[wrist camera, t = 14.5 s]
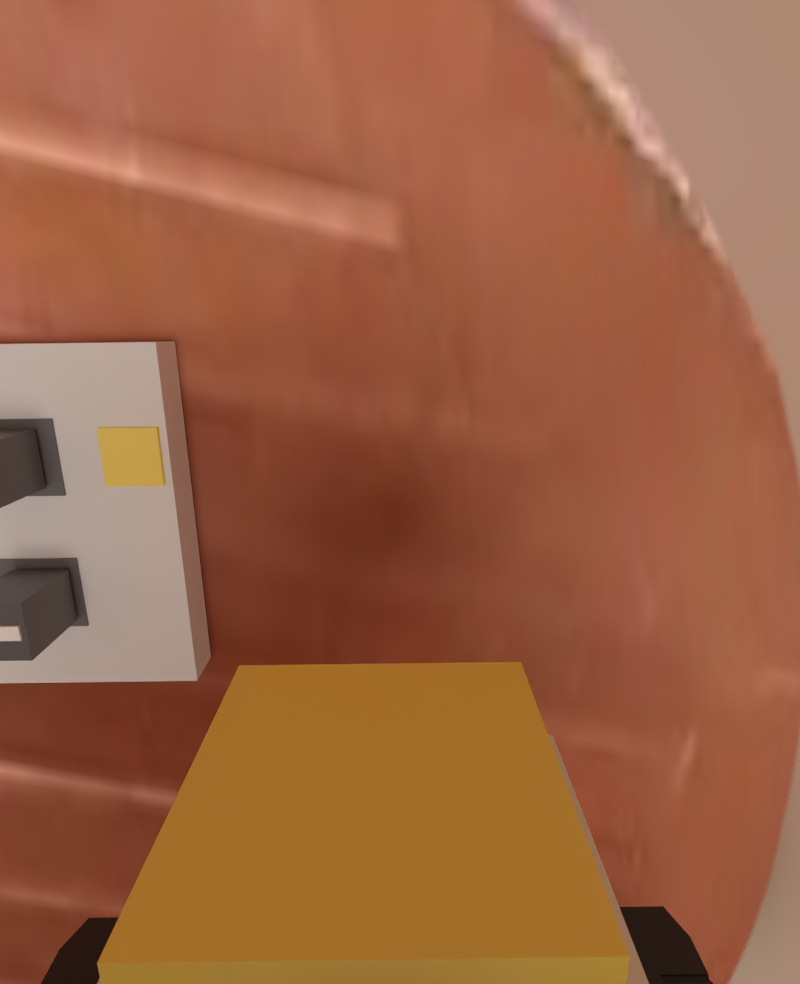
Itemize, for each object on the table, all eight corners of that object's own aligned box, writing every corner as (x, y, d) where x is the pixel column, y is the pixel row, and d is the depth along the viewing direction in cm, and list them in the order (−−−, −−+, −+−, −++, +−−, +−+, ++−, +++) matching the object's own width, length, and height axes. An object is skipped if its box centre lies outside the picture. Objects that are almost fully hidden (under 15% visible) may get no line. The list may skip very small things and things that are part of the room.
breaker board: (-74, 660, 28) (-112, 687, 26) (-158, 345, 24) (-211, 347, 22) (211, 656, 28) (195, 683, 26) (174, 341, 24) (153, 342, 22)
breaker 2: (22, 620, 25) (-32, 662, 22) (11, 570, 25) (-46, 605, 21) (77, 620, 25) (30, 662, 22) (67, 569, 25) (18, 604, 21)
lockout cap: (260, 885, 14) (162, 1280, 8) (238, 665, 12) (96, 964, 6) (510, 882, 14) (590, 1275, 8) (520, 661, 12) (630, 956, 6)
